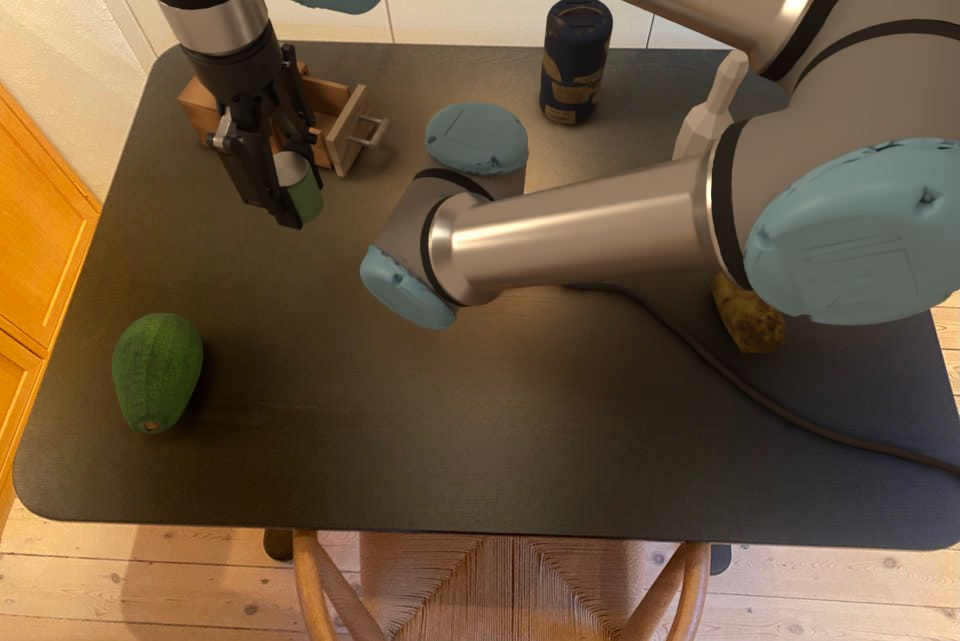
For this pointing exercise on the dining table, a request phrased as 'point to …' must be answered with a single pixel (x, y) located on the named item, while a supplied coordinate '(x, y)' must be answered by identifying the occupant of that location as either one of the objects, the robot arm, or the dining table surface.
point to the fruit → (156, 370)
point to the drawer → (339, 123)
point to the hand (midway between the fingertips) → (301, 204)
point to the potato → (748, 318)
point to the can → (299, 184)
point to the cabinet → (215, 109)
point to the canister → (574, 59)
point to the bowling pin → (712, 108)
